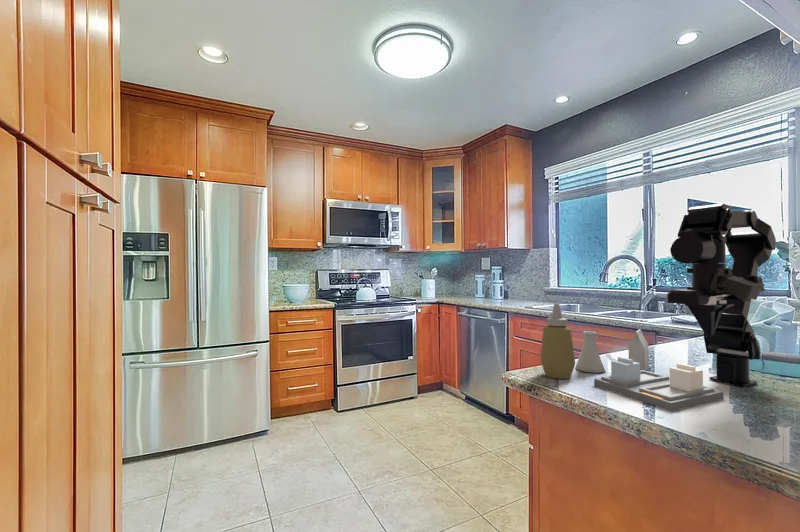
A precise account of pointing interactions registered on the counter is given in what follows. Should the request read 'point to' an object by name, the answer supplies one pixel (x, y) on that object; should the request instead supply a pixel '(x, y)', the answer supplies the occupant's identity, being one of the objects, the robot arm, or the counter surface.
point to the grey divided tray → (659, 391)
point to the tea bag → (639, 350)
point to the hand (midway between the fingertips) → (709, 335)
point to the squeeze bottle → (557, 347)
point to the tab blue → (625, 370)
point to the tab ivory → (686, 377)
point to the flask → (589, 355)
